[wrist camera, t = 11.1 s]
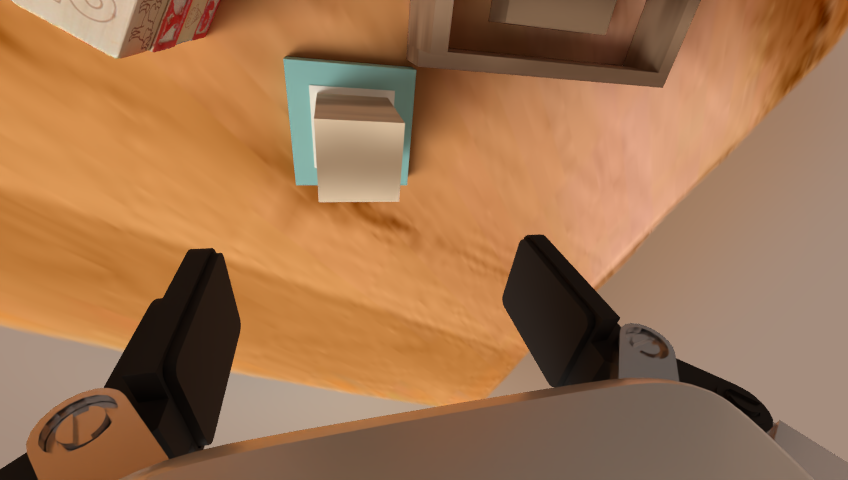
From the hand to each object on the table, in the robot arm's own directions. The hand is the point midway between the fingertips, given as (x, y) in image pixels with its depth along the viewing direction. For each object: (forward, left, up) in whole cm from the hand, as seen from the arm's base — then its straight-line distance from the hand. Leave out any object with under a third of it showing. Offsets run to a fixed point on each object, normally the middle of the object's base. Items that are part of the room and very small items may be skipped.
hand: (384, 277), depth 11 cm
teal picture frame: (0, 0, -20) cm, 20 cm away
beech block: (0, 0, -18) cm, 18 cm away
